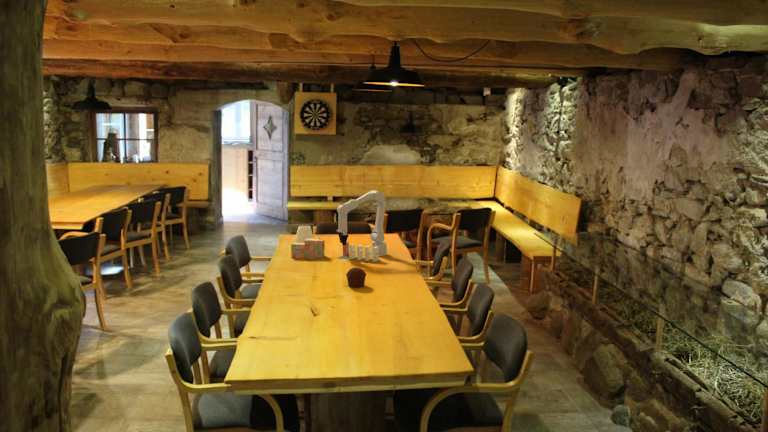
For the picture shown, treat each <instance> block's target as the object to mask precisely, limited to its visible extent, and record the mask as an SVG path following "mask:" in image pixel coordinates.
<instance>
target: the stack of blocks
mask: <svg viewBox="0 0 768 432" xmlns="http://www.w3.org/2000/svg"><path fill="white" fill-rule="evenodd" d="M290 246H291V247H290V250H291V253H290V254H291V255H290V256H291V257H290V258H293V259H315V260H317V259H323V258H325V246H326V245H325V239H324V238H314V239H306V240H305V243H296V242H292V243H291V244H290Z"/></svg>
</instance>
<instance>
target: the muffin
mask: <svg viewBox="0 0 768 432" xmlns="http://www.w3.org/2000/svg"><path fill="white" fill-rule="evenodd" d="M345 276H346V279H347V285H348V287H349V288H351V289H361V288H363V287H365V283H366V282H365V280H366V276H367V273H366V272H365V270H364V269H362V268H360V267H352V268H350V269H349V270H348V271H347V272H346V274H345Z"/></svg>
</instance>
